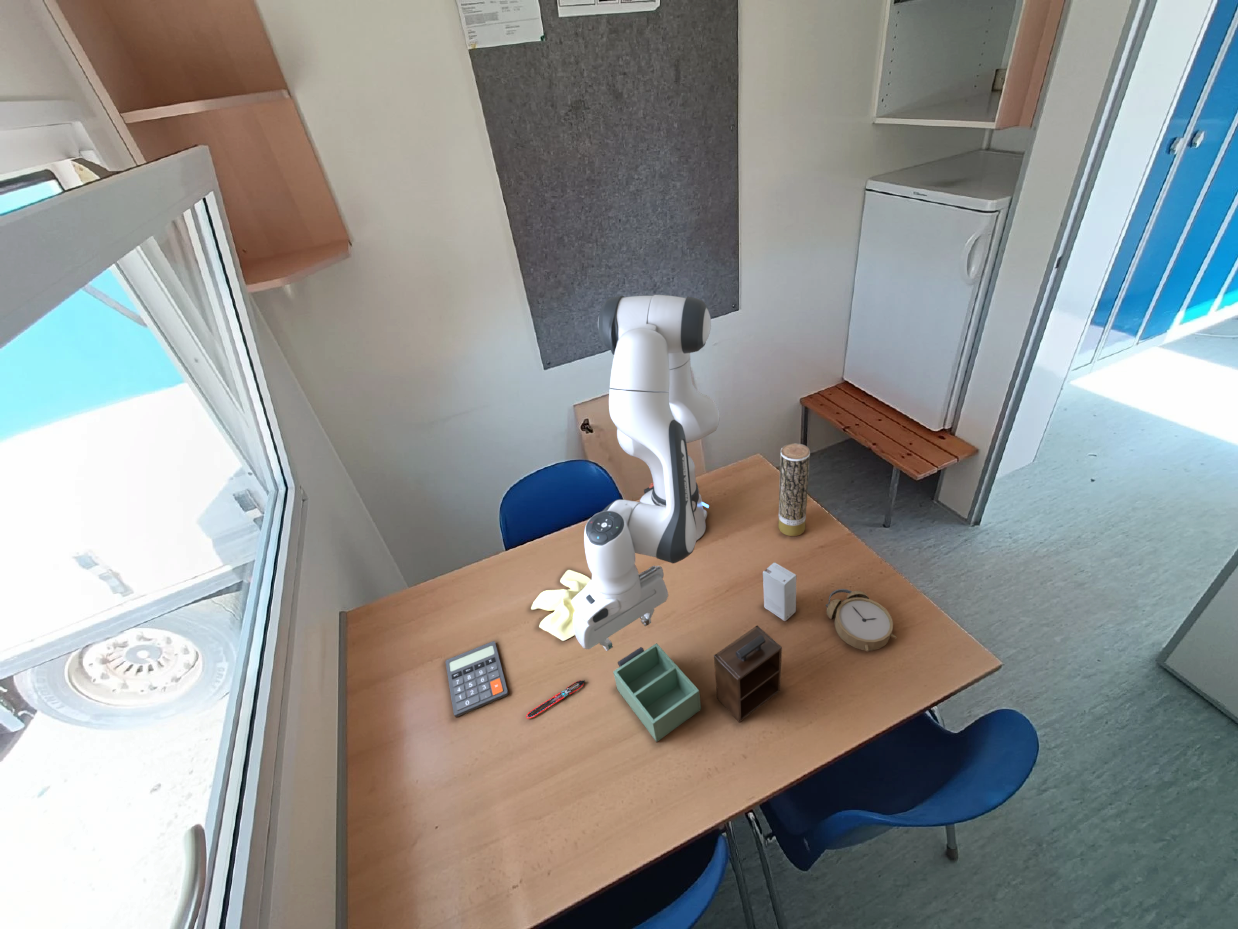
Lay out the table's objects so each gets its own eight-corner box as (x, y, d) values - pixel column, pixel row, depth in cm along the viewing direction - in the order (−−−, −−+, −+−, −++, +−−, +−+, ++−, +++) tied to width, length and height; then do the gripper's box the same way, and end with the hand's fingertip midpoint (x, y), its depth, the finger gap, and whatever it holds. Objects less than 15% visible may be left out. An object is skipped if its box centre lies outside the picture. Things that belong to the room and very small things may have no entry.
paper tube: (809, 526, 149) (815, 448, 135) (796, 541, 145) (801, 462, 131) (786, 517, 153) (789, 440, 139) (773, 531, 150) (775, 453, 135)
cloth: (623, 619, 133) (619, 602, 129) (549, 653, 128) (543, 636, 124) (589, 561, 150) (585, 544, 146) (523, 589, 145) (517, 572, 142)
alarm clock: (861, 651, 114) (816, 593, 124) (855, 662, 117) (812, 605, 128) (906, 630, 116) (858, 575, 126) (899, 642, 120) (853, 587, 130)
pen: (524, 715, 116) (523, 713, 116) (582, 678, 121) (582, 676, 121) (528, 722, 115) (527, 720, 114) (587, 684, 120) (586, 683, 119)
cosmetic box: (796, 611, 128) (798, 574, 121) (784, 623, 126) (785, 585, 119) (774, 597, 132) (775, 560, 125) (762, 608, 130) (762, 571, 123)
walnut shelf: (757, 668, 117) (780, 690, 113) (716, 698, 113) (739, 722, 109) (757, 615, 108) (782, 637, 103) (712, 646, 104) (737, 670, 99)
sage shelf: (701, 709, 112) (699, 690, 108) (656, 742, 108) (652, 723, 104) (652, 653, 124) (649, 634, 120) (610, 680, 120) (605, 662, 116)
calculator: (453, 715, 117) (445, 659, 129) (455, 717, 118) (446, 662, 130) (507, 692, 120) (494, 640, 132) (508, 694, 120) (495, 642, 132)
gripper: (652, 553, 113) (659, 600, 121) (563, 604, 105) (577, 651, 113) (671, 570, 108) (677, 618, 116) (580, 625, 100) (593, 672, 108)
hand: (627, 635), depth 114 cm, fingers open, 8 cm apart
